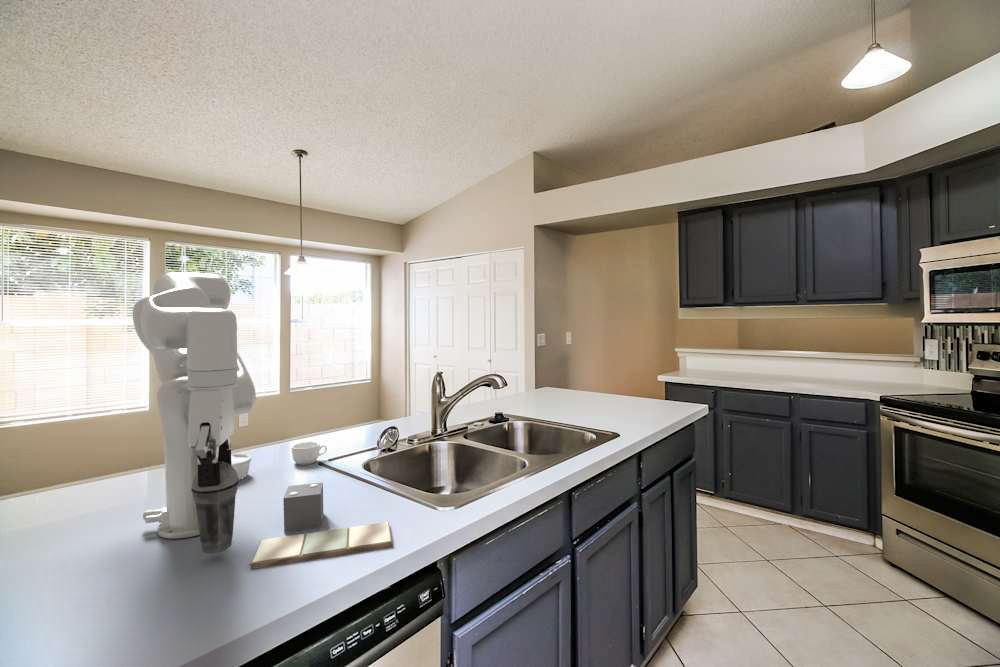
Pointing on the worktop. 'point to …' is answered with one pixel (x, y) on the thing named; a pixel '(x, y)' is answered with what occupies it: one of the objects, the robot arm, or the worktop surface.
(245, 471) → the ramekin
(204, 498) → the beverage cup
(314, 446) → the teacup
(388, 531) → the game track
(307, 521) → the die
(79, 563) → the worktop surface
